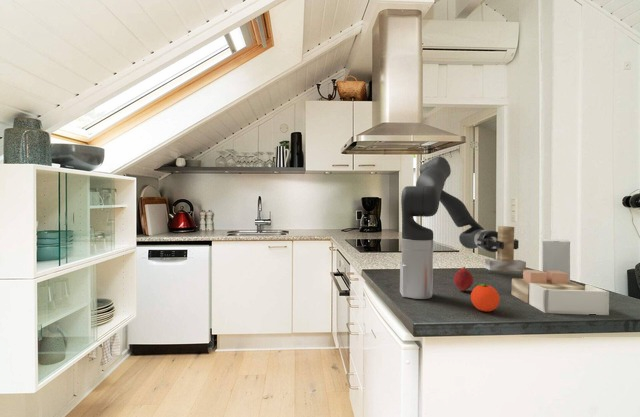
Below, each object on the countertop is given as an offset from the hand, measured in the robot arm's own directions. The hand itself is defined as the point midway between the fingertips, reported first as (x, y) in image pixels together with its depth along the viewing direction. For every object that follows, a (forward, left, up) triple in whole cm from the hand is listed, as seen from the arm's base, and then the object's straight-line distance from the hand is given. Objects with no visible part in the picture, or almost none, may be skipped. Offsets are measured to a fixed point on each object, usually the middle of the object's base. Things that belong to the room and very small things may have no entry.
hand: (509, 245), depth 111 cm
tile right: (+11, -5, -10) cm, 16 cm away
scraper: (0, +3, -8) cm, 9 cm away
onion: (-14, 0, -15) cm, 21 cm away
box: (+8, -16, -15) cm, 23 cm away
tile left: (+5, -5, -10) cm, 12 cm away
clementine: (-15, -20, -15) cm, 29 cm away
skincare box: (+23, +16, -15) cm, 32 cm away
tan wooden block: (+8, -7, -15) cm, 18 cm away
